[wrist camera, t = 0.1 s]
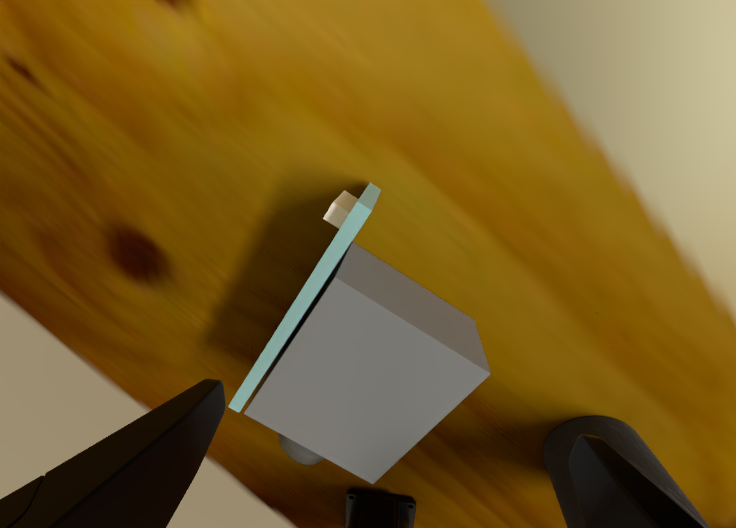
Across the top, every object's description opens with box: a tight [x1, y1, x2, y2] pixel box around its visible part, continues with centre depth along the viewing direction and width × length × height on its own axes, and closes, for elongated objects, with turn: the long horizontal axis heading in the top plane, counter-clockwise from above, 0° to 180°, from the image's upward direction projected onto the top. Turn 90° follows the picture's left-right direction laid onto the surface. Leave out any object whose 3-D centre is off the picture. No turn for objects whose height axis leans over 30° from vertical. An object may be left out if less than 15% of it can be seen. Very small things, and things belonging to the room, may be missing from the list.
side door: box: [228, 183, 381, 412], centre depth 21 cm, size 16×2×5 cm, turn 148°
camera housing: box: [244, 242, 491, 484], centre depth 23 cm, size 14×10×6 cm
